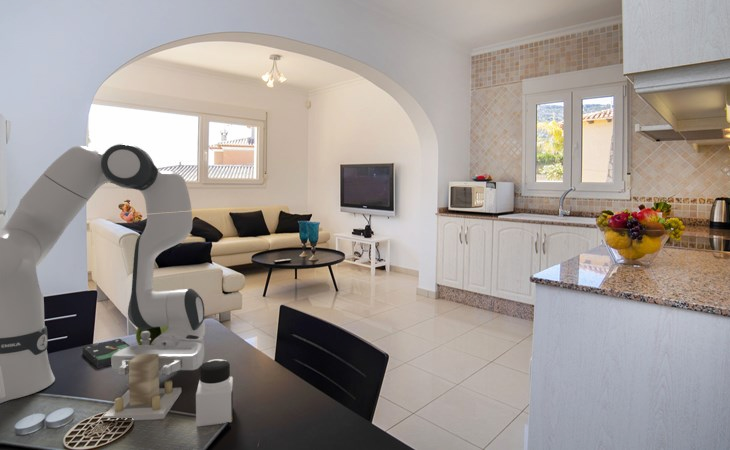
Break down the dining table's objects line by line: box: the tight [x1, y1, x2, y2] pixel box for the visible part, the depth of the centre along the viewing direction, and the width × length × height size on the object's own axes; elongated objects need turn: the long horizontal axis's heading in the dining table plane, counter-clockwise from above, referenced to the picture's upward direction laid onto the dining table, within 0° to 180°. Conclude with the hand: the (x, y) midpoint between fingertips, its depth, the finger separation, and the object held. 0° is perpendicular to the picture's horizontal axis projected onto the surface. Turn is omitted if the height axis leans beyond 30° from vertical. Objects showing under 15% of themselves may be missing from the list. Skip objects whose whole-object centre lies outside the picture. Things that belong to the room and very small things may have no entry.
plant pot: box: [135, 326, 169, 345], centre depth 131 cm, size 9×9×9 cm
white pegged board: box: [102, 380, 182, 421], centre depth 93 cm, size 12×12×4 cm
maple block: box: [128, 354, 160, 406], centre depth 93 cm, size 4×4×10 cm
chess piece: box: [140, 331, 151, 345], centre depth 121 cm, size 5×5×8 cm
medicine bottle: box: [195, 358, 234, 428], centre depth 89 cm, size 7×7×12 cm
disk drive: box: [82, 338, 131, 369], centre depth 122 cm, size 10×3×15 cm
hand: (143, 371), depth 92 cm, fingers open, 8 cm apart
